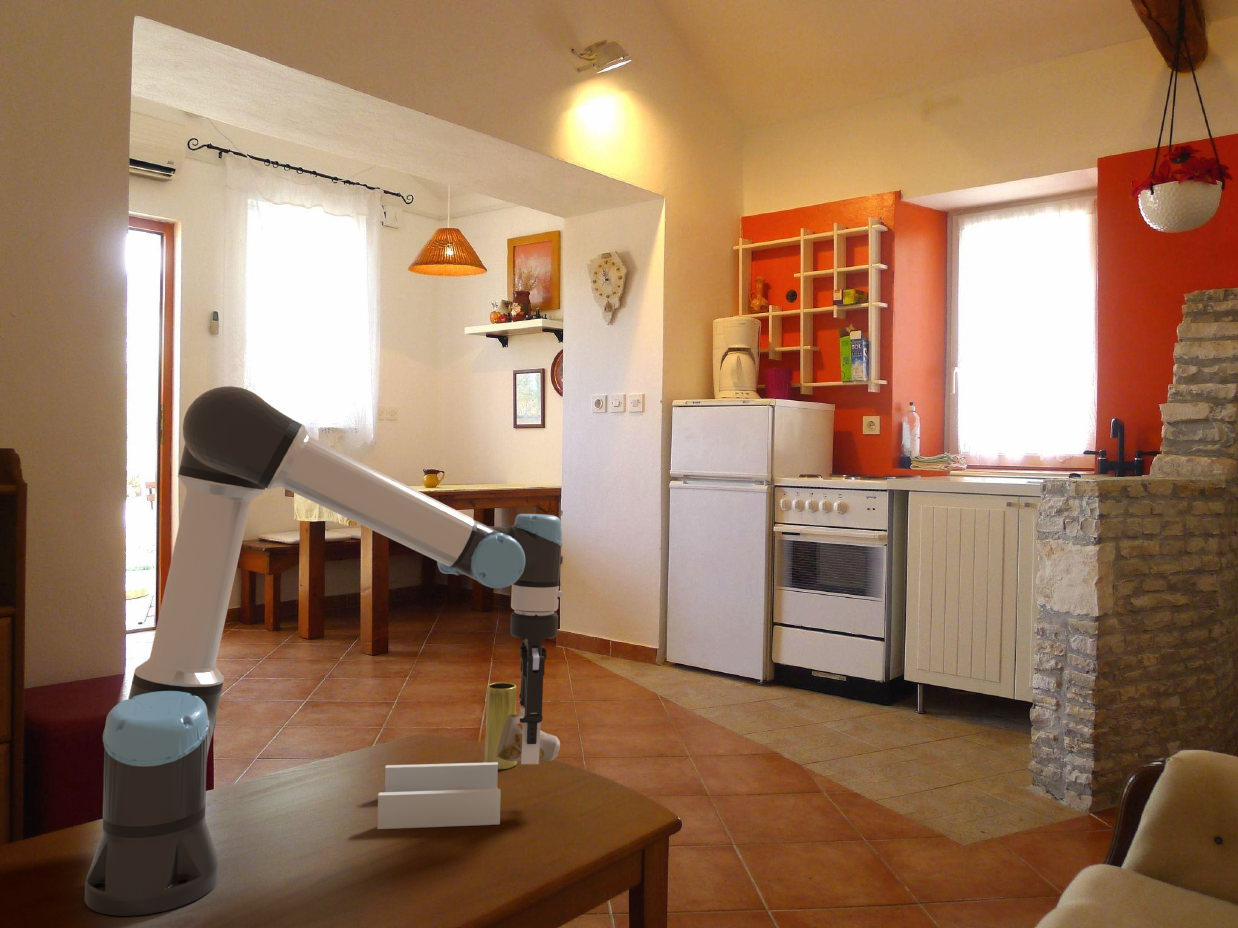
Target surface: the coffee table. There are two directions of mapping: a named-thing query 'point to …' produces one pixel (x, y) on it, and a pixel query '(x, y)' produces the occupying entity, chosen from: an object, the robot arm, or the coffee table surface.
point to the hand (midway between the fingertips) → (528, 754)
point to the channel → (439, 795)
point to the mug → (513, 742)
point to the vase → (498, 719)
